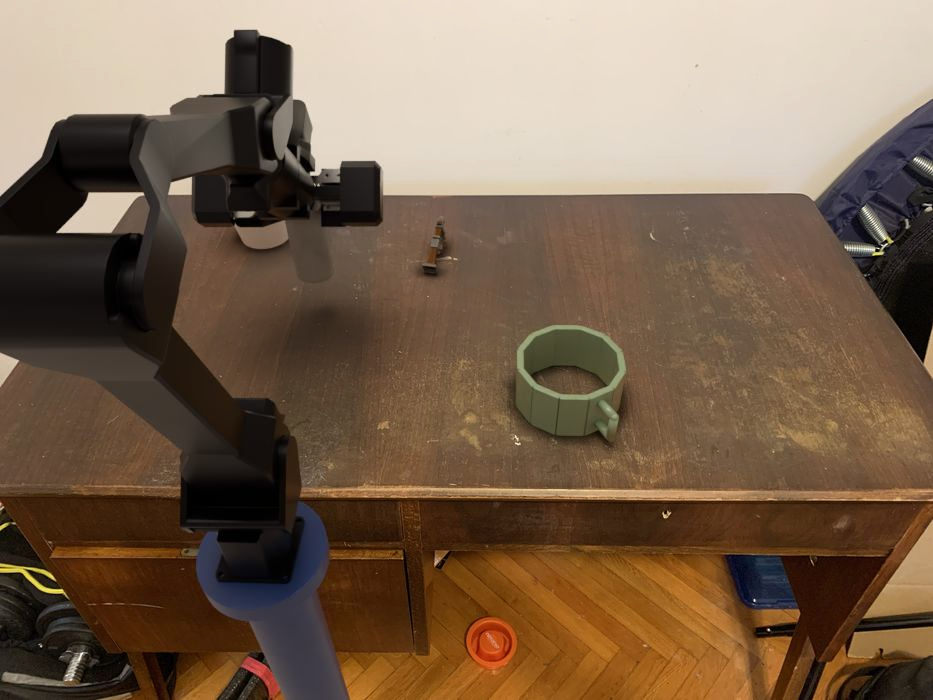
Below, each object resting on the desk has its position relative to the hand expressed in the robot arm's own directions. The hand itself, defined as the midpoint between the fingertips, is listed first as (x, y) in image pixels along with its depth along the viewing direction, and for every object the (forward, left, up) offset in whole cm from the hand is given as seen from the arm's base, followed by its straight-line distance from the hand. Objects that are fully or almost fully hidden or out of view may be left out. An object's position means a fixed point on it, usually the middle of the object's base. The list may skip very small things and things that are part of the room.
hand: (308, 213), depth 81 cm
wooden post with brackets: (+10, -13, -13) cm, 21 cm away
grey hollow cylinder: (-1, 0, -7) cm, 7 cm away
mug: (-16, -30, -13) cm, 36 cm away
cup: (+15, +11, -13) cm, 23 cm away
